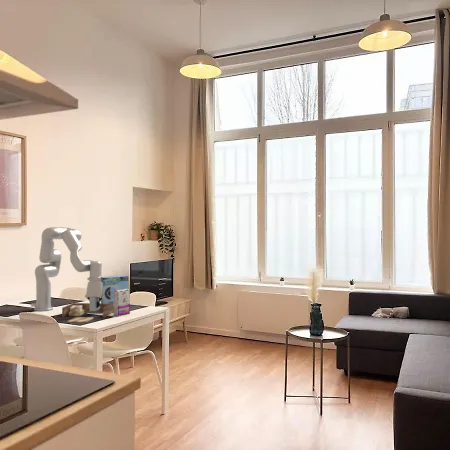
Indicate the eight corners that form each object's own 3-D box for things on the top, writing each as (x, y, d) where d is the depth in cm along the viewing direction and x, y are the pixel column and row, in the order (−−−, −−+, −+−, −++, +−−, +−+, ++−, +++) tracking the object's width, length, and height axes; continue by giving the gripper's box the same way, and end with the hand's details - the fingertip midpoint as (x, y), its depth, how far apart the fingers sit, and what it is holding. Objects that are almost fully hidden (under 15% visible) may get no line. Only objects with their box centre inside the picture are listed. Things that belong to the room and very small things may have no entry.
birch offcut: (70, 312, 304) (70, 307, 304) (73, 309, 312) (73, 305, 312) (79, 311, 304) (79, 307, 304) (82, 309, 312) (82, 305, 312)
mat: (67, 322, 284) (67, 321, 284) (75, 317, 297) (75, 317, 297) (86, 322, 283) (86, 321, 283) (93, 318, 296) (93, 317, 296)
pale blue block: (89, 311, 303) (89, 297, 303) (94, 308, 313) (94, 295, 313) (94, 311, 303) (94, 297, 303) (99, 308, 313) (100, 295, 313)
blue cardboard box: (126, 306, 341) (126, 275, 341) (128, 307, 336) (129, 275, 336) (100, 308, 330) (100, 276, 330) (102, 310, 326) (102, 277, 326)
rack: (62, 316, 300) (62, 307, 300) (73, 311, 318) (73, 303, 318) (104, 317, 298) (104, 308, 298) (113, 312, 316) (113, 303, 316)
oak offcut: (68, 316, 304) (68, 312, 304) (74, 314, 313) (74, 309, 313) (79, 316, 303) (79, 312, 303) (84, 314, 312) (84, 309, 312)
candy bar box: (124, 312, 314) (124, 288, 315) (130, 313, 312) (130, 289, 312) (112, 315, 305) (112, 290, 305) (118, 316, 302) (118, 291, 302)
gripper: (81, 280, 304) (80, 307, 305) (105, 280, 303) (105, 308, 304) (85, 278, 312) (84, 305, 312) (109, 279, 311) (108, 306, 311)
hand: (94, 307), depth 308 cm, fingers closed on pale blue block, 3 cm apart
